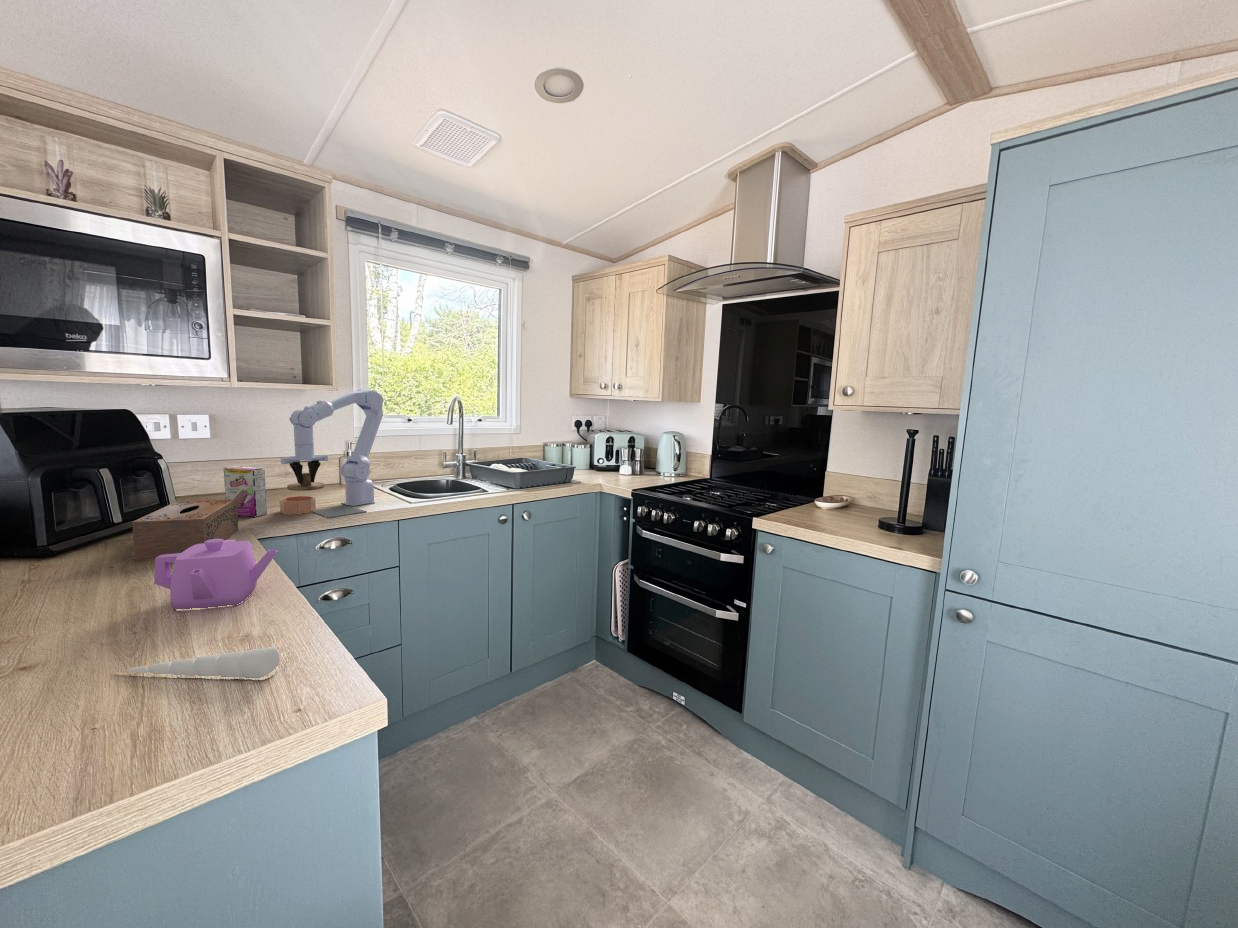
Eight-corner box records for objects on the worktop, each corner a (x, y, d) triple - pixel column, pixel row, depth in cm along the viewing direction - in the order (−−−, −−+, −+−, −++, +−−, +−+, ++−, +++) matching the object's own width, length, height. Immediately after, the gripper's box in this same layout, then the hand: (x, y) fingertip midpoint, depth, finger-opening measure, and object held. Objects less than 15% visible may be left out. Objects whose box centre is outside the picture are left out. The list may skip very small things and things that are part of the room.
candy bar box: (225, 515, 174) (222, 467, 172) (237, 512, 179) (234, 465, 177) (256, 517, 173) (253, 469, 171) (267, 514, 178) (265, 467, 176)
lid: (315, 483, 191) (315, 470, 190) (330, 487, 184) (329, 474, 184) (281, 487, 182) (281, 473, 182) (295, 492, 176) (294, 477, 175)
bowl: (307, 506, 191) (306, 494, 191) (319, 511, 185) (319, 498, 185) (276, 511, 183) (276, 498, 183) (288, 515, 177) (287, 502, 177)
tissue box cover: (180, 534, 153) (177, 500, 151) (238, 531, 158) (236, 499, 157) (135, 561, 129) (132, 521, 128) (206, 556, 134) (203, 518, 133)
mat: (348, 506, 194) (348, 505, 194) (366, 512, 186) (366, 511, 186) (311, 512, 184) (311, 510, 184) (328, 518, 176) (328, 517, 176)
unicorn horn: (136, 663, 83) (133, 635, 82) (284, 670, 82) (282, 642, 82) (106, 679, 78) (103, 649, 77) (263, 687, 78) (261, 657, 77)
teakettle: (234, 578, 120) (230, 526, 118) (284, 590, 113) (282, 535, 112) (144, 604, 104) (138, 544, 102) (197, 621, 98) (192, 557, 96)
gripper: (321, 442, 189) (322, 479, 191) (276, 444, 178) (278, 483, 180) (329, 443, 185) (331, 481, 187) (284, 446, 174) (286, 486, 176)
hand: (306, 482), depth 183 cm, fingers closed on lid, 3 cm apart
